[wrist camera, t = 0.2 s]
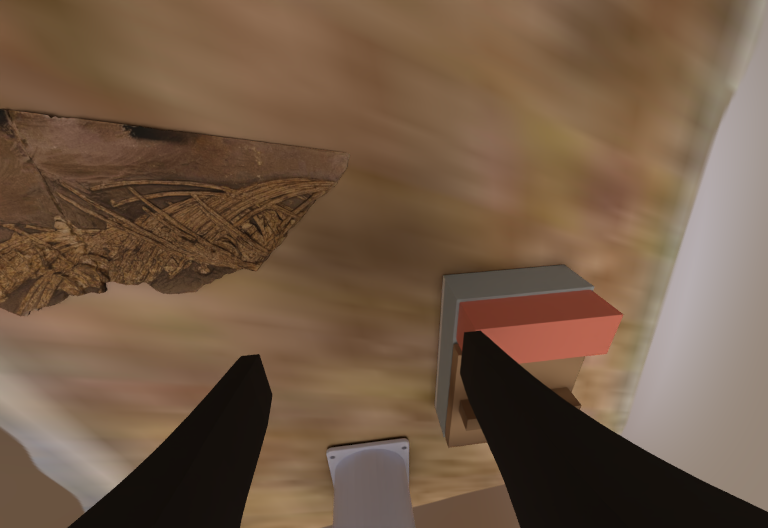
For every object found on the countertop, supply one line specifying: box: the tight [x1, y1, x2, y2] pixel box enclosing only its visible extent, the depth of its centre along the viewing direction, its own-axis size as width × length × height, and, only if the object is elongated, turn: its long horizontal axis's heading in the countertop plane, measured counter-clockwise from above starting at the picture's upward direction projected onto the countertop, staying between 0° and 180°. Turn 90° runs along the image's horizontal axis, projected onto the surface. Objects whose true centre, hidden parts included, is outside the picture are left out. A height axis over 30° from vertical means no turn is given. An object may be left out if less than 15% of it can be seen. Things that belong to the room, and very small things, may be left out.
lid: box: [445, 344, 585, 448], centre depth 21 cm, size 10×9×2 cm
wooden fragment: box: [0, 109, 350, 316], centre depth 17 cm, size 26×11×1 cm, turn 96°
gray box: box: [435, 265, 594, 437], centre depth 23 cm, size 14×9×3 cm, turn 2°
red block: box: [456, 290, 623, 364], centre depth 18 cm, size 3×9×3 cm, turn 92°
